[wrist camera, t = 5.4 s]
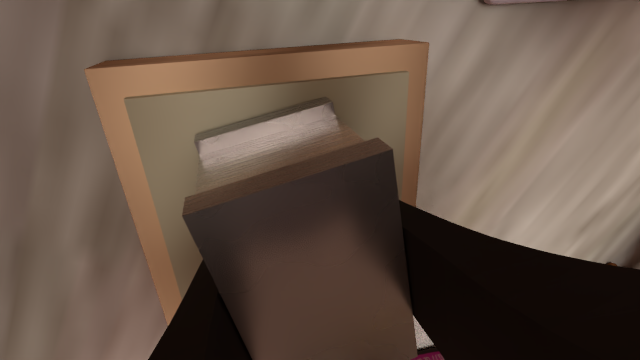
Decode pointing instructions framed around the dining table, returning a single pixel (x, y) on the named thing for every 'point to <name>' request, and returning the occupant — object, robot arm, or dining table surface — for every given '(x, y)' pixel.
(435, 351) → the candy bar box
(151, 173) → the oak stand
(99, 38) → the dining table surface
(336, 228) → the housing
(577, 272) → the robot arm
